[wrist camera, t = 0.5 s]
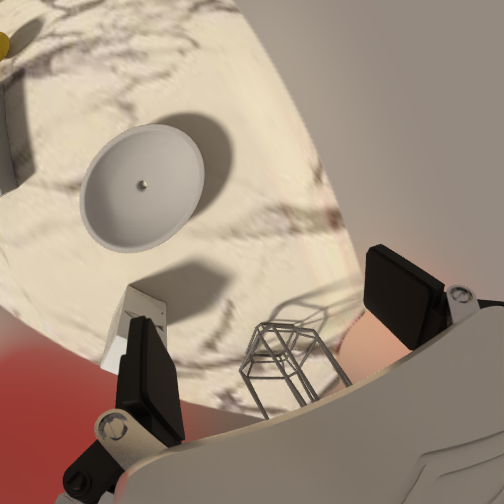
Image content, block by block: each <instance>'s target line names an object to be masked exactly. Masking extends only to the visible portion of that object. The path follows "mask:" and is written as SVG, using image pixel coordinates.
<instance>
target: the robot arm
mask: <svg viewBox="0 0 504 504" xmlns="http://www.w3.org/2000/svg"><path fill="white" fill-rule="evenodd" d="M444 286H445V284H443V283H442V282H440V281H439V280H437V279H436V278H434V277H433V276H431V275H430V274H428V273H427V272H425V271H424V270H422V269H421V268H419V267H418V266H416V265H414V264H413V263H411V262H410V261H408V260H407V259H405V258H404V257H402V256H400V255H399V254H397V253H395V252H394V251H392V250H391V249H389V248H387V247H386V246H384V245H382V244H379V245H376V246H373V247H370V248H369V250H368V252H367V253H366V269H365V286H364V305H365V307H366V308H367V309H368V310H369V311H370V312H371V313H372V314H373V315H374V316H376V317H377V318H378V319H379V320H380V321H381V322H382V323H383V324H384V325H385V326H386V327H387V328H388V329H389V330H390V331H391V332H392V333H393V334H394V335H395V336H396V337H397V338H398V339H399V340H400V341H401V342H402V343H403V344H404V345H405V346H406V347H407V348H408V349H409V350H413V351H412V352H411V353H409V354H408V355H406V356H404V357H403V358H401V359H399V360H398V361H396V362H394V363H393V364H391V365H389V366H387V367H386V368H384V369H382V370H380V371H378V372H376V373H375V374H373V375H371V376H369V377H367V378H365V379H363V380H361V381H359V382H357V383H355V384H353V385H351V386H349V387H347V388H345V389H343V390H341V391H339V392H336V393H335V394H332V395H330V396H328V397H325V398H323V399H321V400H318V401H316V402H314V403H311V404H309V405H306V406H304V407H301V408H299V409H296V410H294V411H291V412H288V413H286V414H283V415H280V416H277V417H275V418H272V419H269V420H266V421H263V422H260V423H256V424H253V425H250V426H247V427H243V428H240V429H237V430H233V431H230V432H226V433H223V434H219V435H215V436H211V437H208V438H203V439H199V440H196V441H192V442H188V443H184V444H182V443H181V441H183V440H185V433H184V427H183V421H182V414H181V408H180V399H179V391H178V382H177V373H176V368H175V365H174V363H173V361H172V359H171V357H170V355H169V353H168V352H167V350H166V348H165V346H164V344H163V342H162V340H161V338H160V336H159V334H158V332H157V330H156V328H155V326H154V323H153V321H152V319H151V318H146V317H145V316H144V315H143V316H139V317H135V318H131V319H130V325H129V332H128V339H127V348H126V354H123V355H121V357H120V363H119V372H118V381H117V392H116V406H115V409H111V410H108V411H106V412H105V413H103V414H102V415H101V416H100V417H99V418H98V419H97V422H96V423H95V429H94V430H95V435H96V437H97V440H96V441H95V442H94V443H93V444H92V445H91V446H90V447H89V448H88V449H87V450H86V451H85V452H84V453H83V454H82V455H81V456H80V457H79V458H78V459H77V460H76V461H75V462H74V463H73V464H72V465H71V466H70V467H69V468H68V469H67V470H66V471H65V473H64V476H63V486H64V489H65V492H64V494H61V493H60V494H59V496H58V498H57V500H56V502H55V504H504V302H502V301H491V300H479V299H477V298H476V296H475V294H474V292H473V291H472V290H471V289H469V288H468V287H465V286H463V285H453V286H450V287H449V288H448V289H447V292H444Z"/></svg>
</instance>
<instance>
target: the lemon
mask: <svg viewBox="0 0 504 504" xmlns="http://www.w3.org/2000/svg"><path fill="white" fill-rule="evenodd" d="M9 48H10V40H9V38H8V36H7V35H6V34H4V33H2V32H0V61H2V60H3V59H4V57H5V56H6V55H7V53H8V51H9Z"/></svg>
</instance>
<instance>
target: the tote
mask: <svg viewBox="0 0 504 504" xmlns="http://www.w3.org/2000/svg"><path fill="white" fill-rule="evenodd" d="M16 188H18V186H17V182H16V178H15V174H14V169H13V164H12V159H11V154H10V148H9V142H8V135H7V127H6V118H5V107H4V87H3V85H0V197H2V196H3V195H5V194H7V193H9V192H11V191H13V190H15V189H16Z"/></svg>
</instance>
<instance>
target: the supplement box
mask: <svg viewBox="0 0 504 504" xmlns="http://www.w3.org/2000/svg"><path fill="white" fill-rule="evenodd" d="M143 315H144V316H145V317H146V318H151V319H152V321H153V323H154V326H155V328H156V330H157V332H158V334H159V336H160V338H161V340H162V342H163V344H164V346H165V348H166V350H167V327H166V326H167V324H166V303H164V302H162V301H159V300H157V299H155V298H152V297H150V296H148V295H146V294H144V293H142V292H140V291H138V290H136V289H134V288H132V287H131V286H129V285H127V287H126V289H125V291H124V294H123V296H122V298H121V300H120V302H119V304H118V306H117V308H116V310H115V313H114V315H113V317H112V321H111V324H110V328H109V332H108V336H107V340H106V345H105V349H104V354H103V359H102V363H101V366H100V367H101V368H102V369H104V370H106V371H109V372H111V373H114V374H117V375H118V372H119V363H120V357H121V355H123V354H126V348H127V339H128V332H129V325H130V319H131V318H135V317H139V316H143Z"/></svg>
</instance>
